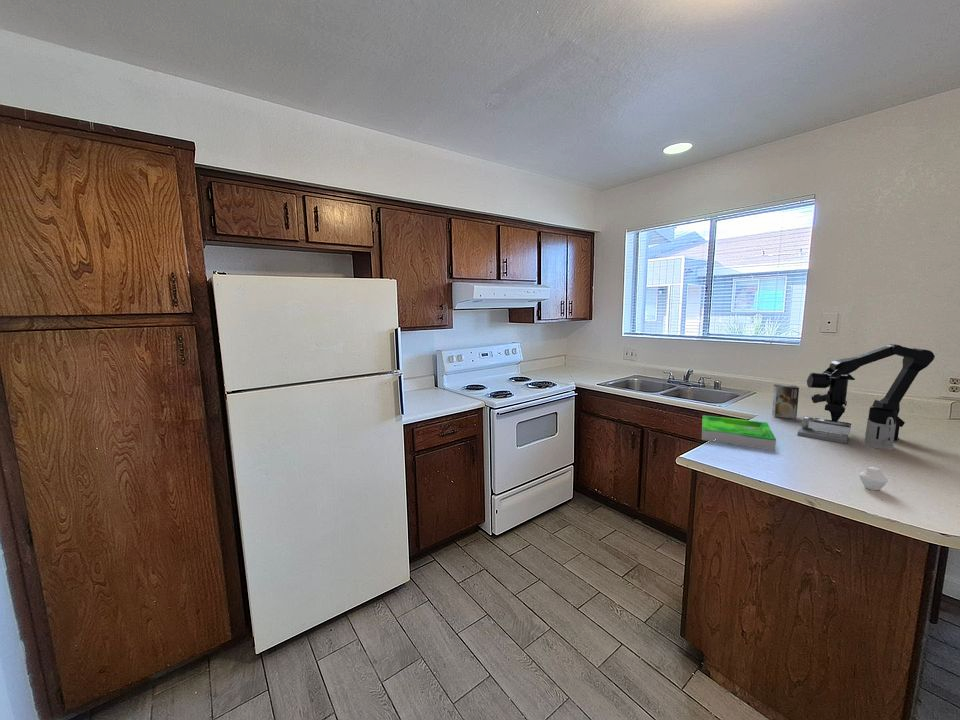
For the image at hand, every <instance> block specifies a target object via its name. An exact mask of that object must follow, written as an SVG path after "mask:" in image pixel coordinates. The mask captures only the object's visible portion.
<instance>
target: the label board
mask: <svg viewBox="0 0 960 720" xmlns="http://www.w3.org/2000/svg"><path fill="white" fill-rule="evenodd" d="M797 436H801V437H807V438H812V439H818V440H823V441H828V442H833V443H834V442H835V443H840V444H846V445H847V443H848V438H849V435H848V434H842V433H836V432H830V431H824V430H818V429H813V430H807V429H803V428H802V425H801V426H800V428H799V429H798V431H797Z"/></svg>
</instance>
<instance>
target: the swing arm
mask: <svg viewBox="0 0 960 720" xmlns="http://www.w3.org/2000/svg"><path fill="white" fill-rule="evenodd" d="M801 426H802V428H803V429H807V430H813V429H818V430H824V431H830V432H836V433H842V434H848V436H850V434H851V428H852V423H851V422H846V421H839V420H838V421H833V420H832V419H826V418H818V417H811V416H803V417H802V424H801Z"/></svg>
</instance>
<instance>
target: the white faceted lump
mask: <svg viewBox="0 0 960 720" xmlns="http://www.w3.org/2000/svg"><path fill="white" fill-rule="evenodd" d="M858 474H859V475H858V476H859V480H860V481H861V484H862V485H863V487H864V488H865V489H867V488H868V490H870V489H871V491H874V490H879V491H880V490H881V489H882V488H884V487H885V486H886V484H887V483H888V482H889V480H888V478H887V477H886V476H885V475H884V473H883V470H881V469H880V468H878V467H876V466H868V467H866V468H865V469H864V470H863V471H861V472H859V473H858Z"/></svg>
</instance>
